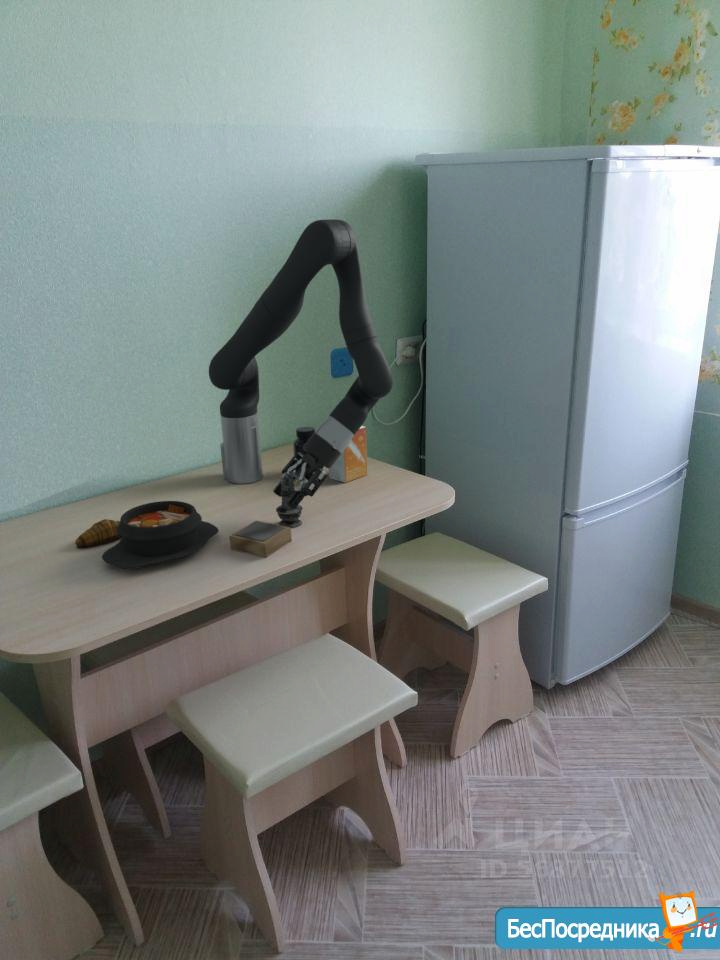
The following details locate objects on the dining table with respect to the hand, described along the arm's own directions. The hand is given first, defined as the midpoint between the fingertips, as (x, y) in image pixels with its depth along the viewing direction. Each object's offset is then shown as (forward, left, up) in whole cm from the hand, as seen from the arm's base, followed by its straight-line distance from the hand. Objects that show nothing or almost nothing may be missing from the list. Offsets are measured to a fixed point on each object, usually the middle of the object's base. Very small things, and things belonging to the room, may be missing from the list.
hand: (283, 500), depth 171 cm
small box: (-3, +33, -6) cm, 34 cm away
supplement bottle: (-14, +31, -6) cm, 35 cm away
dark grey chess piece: (+1, +1, -6) cm, 6 cm away
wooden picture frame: (+2, -11, -6) cm, 12 cm away
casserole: (-15, -22, -6) cm, 27 cm away
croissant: (-30, -23, -6) cm, 39 cm away
